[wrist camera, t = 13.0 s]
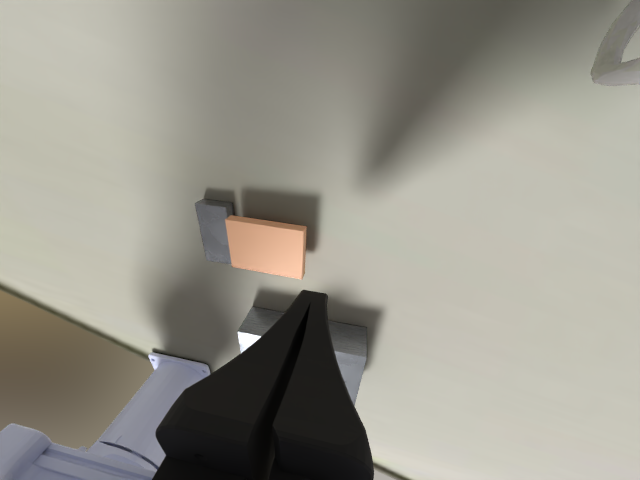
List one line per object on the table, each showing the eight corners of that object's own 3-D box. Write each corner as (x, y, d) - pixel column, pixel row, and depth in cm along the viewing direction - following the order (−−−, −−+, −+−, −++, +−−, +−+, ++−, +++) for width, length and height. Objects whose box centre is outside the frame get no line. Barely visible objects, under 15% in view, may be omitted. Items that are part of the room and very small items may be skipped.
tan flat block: (237, 261, 19) (304, 273, 18) (231, 266, 18) (302, 279, 17) (231, 215, 17) (306, 226, 16) (225, 219, 16) (303, 231, 15)
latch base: (239, 258, 20) (233, 264, 19) (213, 254, 20) (206, 260, 20) (232, 202, 18) (225, 207, 17) (203, 199, 18) (194, 203, 17)
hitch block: (354, 378, 25) (353, 409, 23) (257, 358, 27) (245, 384, 24) (366, 327, 21) (366, 357, 19) (252, 306, 23) (237, 331, 20)
